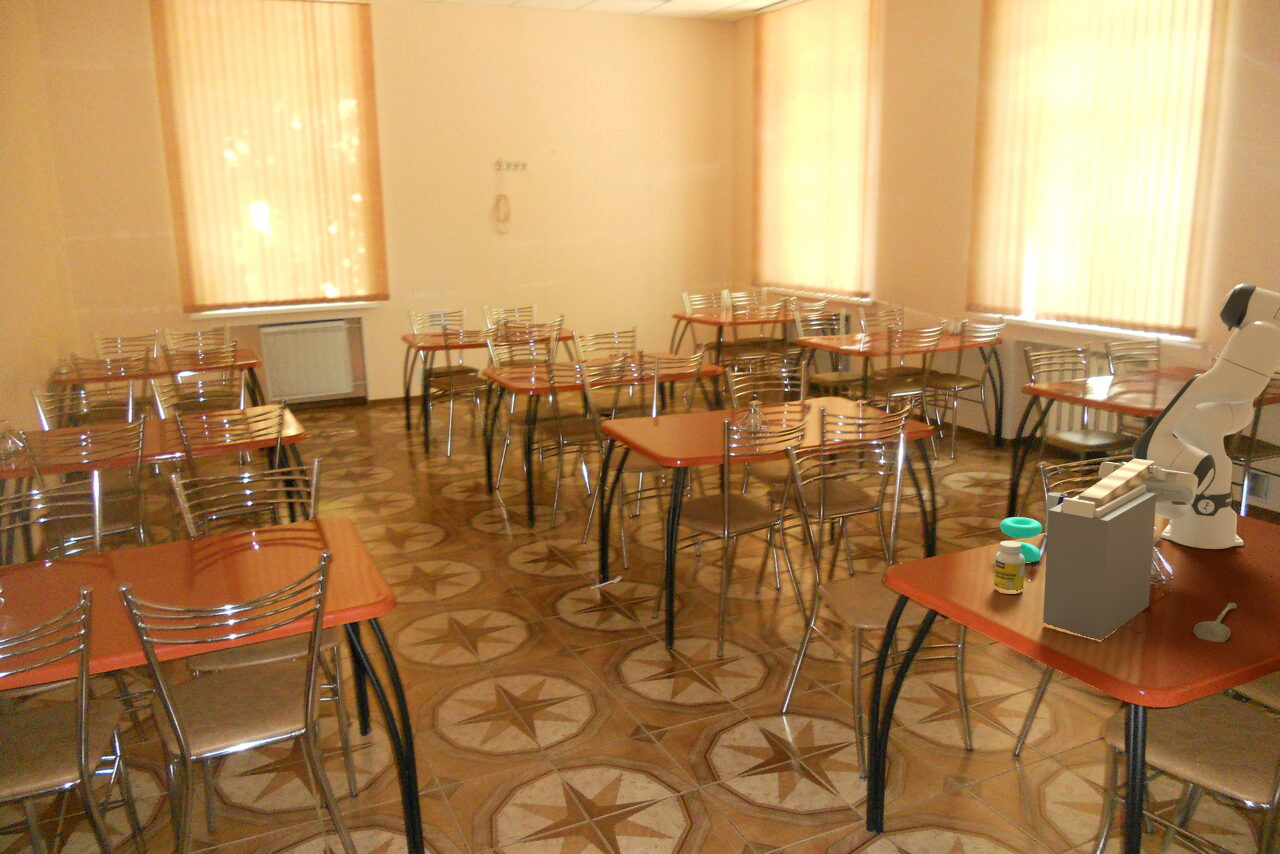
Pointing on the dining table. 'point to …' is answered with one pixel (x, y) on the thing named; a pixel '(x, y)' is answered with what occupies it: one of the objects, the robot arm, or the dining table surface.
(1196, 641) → the dining table surface
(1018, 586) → the pill bottle
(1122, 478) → the wooden bar
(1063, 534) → the gray open box
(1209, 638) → the soupspoon
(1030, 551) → the donuts
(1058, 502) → the energy drink
